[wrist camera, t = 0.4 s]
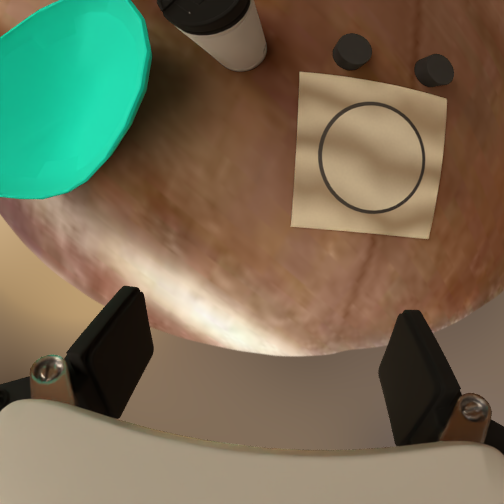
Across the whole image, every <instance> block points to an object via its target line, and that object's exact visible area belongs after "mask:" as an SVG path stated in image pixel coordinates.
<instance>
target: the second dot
mask: <svg viewBox="0 0 504 504" xmlns="http://www.w3.org/2000/svg"><path fill="white" fill-rule="evenodd" d="M415 75H416V77H417V79H418V80H419V81H420V82H421V83H422V84H423V85H425V86H427V87H435V86H441V85H447V84H449V83H450V82H451V81H452V80H453V77H454V70H453V67H452V65H451V63H450V62H449V60H448V59H447V58H445V57H444V56H442V55H439V54H433V55H431V56H428V57H426V58H423V59H421V60H419V61H417V63H416V64H415Z"/></svg>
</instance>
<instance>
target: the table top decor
mask: <svg viewBox="0 0 504 504" xmlns="http://www.w3.org/2000/svg"><path fill="white" fill-rule="evenodd" d="M151 61H152V51H151V46H150V41H149V36H148V30H147V26H146V22H145V19H144V18H143V16H142V15H141V13H140V12H139V11H138V9H137V8H136V6H135V5H134V4H133V2H132V1H131V0H59V1H57V2H54V3H52V4H50V5H48V6H46V7H43V8H41V9H39V10H38V11H36V12H35V13H33V14H32V15H30V16H29V17H28V18H26V19H25V20H23V21H22V22H21V23H19V24H18V25H17V26H15V27H14V28H12V29H11V30H9V31H8V32H7V33H5V34H4V35H3V36H1V37H0V197H6V198H15V199H45V198H49V197H53V196H57V195H61V194H65V193H68V192H70V191H72V190H73V189H75V188H77V187H78V186H80V185H82V184H83V183H85V182H87V181H88V180H89V179H90V178H91V177H92V175H93V174H94V173H95V172H96V171H97V170H98V169H99V168H100V167H101V166H102V165H103V164H104V163H105V162H106V161H107V160H108V159H109V158H110V157H111V156H112V155H113V153H114V151H115V150H116V148H117V147H118V145H119V143H120V142H121V140H122V139H123V137H124V136H125V134H126V133H127V131H128V130H129V128H130V127H131V125H132V123H133V120H134V118H135V116H136V113H137V111H138V109H139V106H140V104H141V102H142V100H143V97H144V95H145V93H146V91H147V85H148V79H149V73H150V67H151Z"/></svg>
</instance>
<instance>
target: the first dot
mask: <svg viewBox="0 0 504 504" xmlns="http://www.w3.org/2000/svg"><path fill="white" fill-rule="evenodd" d="M371 55H372V48H371V45H370V44H369V42H368V41H367V40H366V39H365V38H364V37H362V36H361V35H358V34H354V33H350V34H346V35H344V36H342V37H341V38H340V39H339V41H338V42H337V44H336V46H335V47H334V49H333V58H334V61H335V62H336V63H337V65H338V66H340V67H341V68H343V69H346V70H355V69H358V68H359V67H361V66H362V65H363V64H365V63H366V62H367V61H369V59H370V58H371Z"/></svg>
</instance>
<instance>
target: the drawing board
mask: <svg viewBox="0 0 504 504" xmlns="http://www.w3.org/2000/svg"><path fill="white" fill-rule="evenodd" d="M446 111H447V99H446V98H442V97H439V96H435V95H432V94H428V93H424V92H421V91H417V90H413V89H408V88H404V87H400V86H395V85H391V84H386V83H381V82H375V81H370V80H364V79H358V78H351V77H344V76H337V75H328V74H319V73H309V72H299V99H298V122H297V142H296V160H295V176H294V191H293V205H292V218H291V227H302V228H315V229H327V230H339V231H351V232H362V233H373V234H383V235H393V236H403V237H413V238H423V239H428V238H429V234H430V229H431V225H432V220H433V215H434V210H435V204H436V199H437V193H438V187H439V181H440V174H441V166H442V158H443V150H444V139H445V127H446Z"/></svg>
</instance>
